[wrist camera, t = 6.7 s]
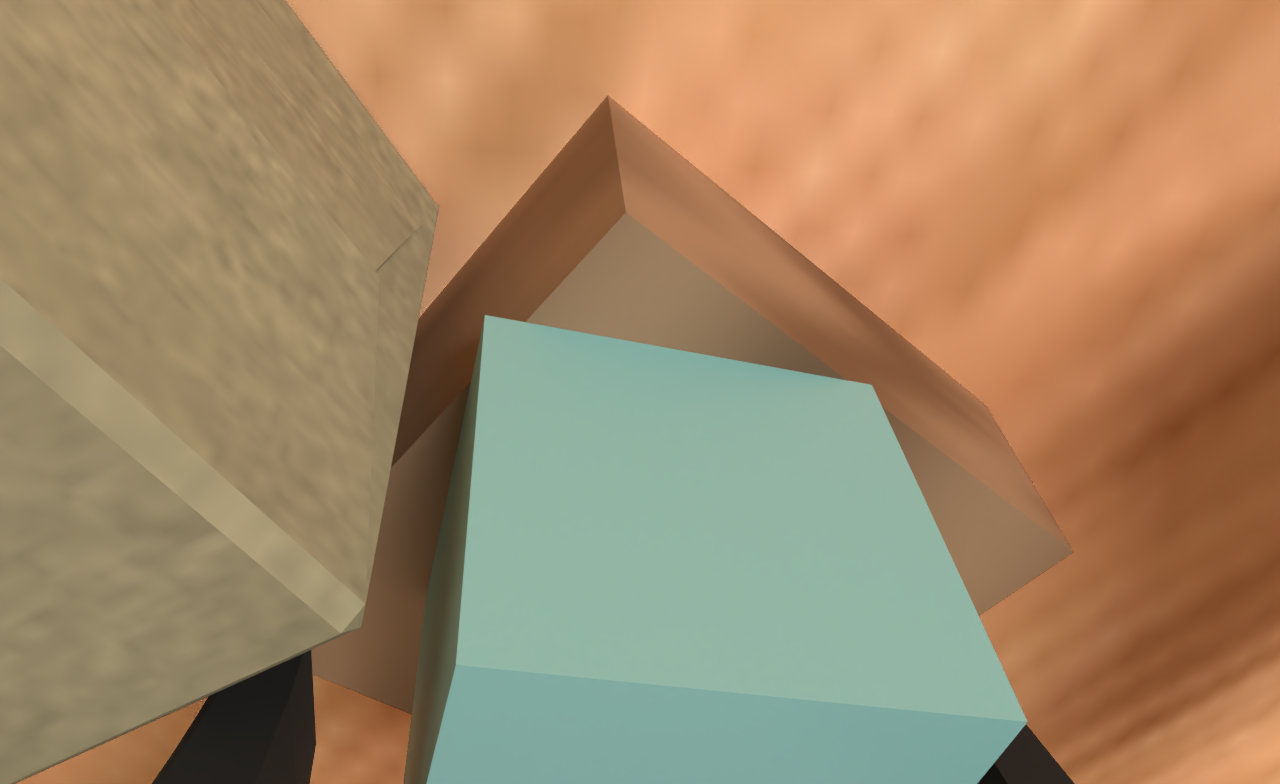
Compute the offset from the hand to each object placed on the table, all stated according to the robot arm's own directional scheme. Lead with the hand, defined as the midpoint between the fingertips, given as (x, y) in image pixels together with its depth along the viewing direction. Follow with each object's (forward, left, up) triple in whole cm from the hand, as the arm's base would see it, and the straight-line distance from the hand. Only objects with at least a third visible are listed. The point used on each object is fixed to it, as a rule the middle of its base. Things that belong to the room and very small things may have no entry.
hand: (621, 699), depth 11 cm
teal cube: (0, -1, -3) cm, 3 cm away
